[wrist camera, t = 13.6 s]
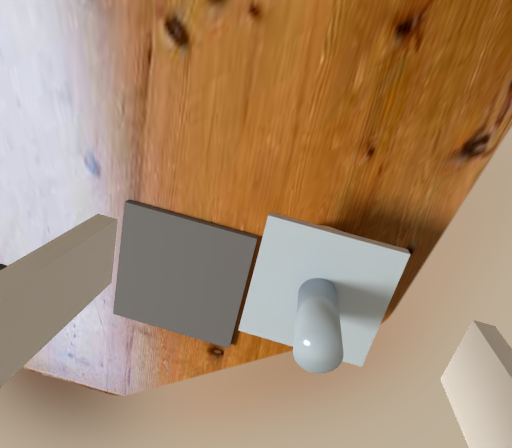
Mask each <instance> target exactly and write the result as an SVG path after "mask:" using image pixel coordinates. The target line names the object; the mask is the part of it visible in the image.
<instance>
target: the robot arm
mask: <svg viewBox="0 0 512 448" xmlns="http://www.w3.org/2000/svg"><path fill="white" fill-rule="evenodd" d="M116 229H117V219H114V218H111V217H107V216H104V215H100V214H97V215H95V216H93V217H92V218H90V219H88V220H87V221H85V222H83V223H81V224H80V225H78V226H76V227H74V228H73V229H71V230H69V231H68V232H66V233H64V234H62V235H61V236H59V237H57V238H55V239H54V240H52V241H50V242H48V243H47V244H45V245H43V246H42V247H40V248H38V249H36V250H35V251H33V252H31V253H29V254H28V255H26V256H24V257H23V258H21V259H19V260H17V261H16V262H14V263H12V264H10V265H9V266H6V265H3V264H0V388H1V386H3V385H4V384H5V383H6V382H7V381H8V380H9V379H10V378H11V377H12V376H13V375H14V374H15V373H16V372H17V371H18V370H20V369H21V368H22V367H23V366H24V365H25V364H26V363H27V362H28V361H29V360H30V359H31V358H32V357H33V356H34V355H35V354H36V353H37V352H38V351H40V350H41V349H42V348H43V347H44V346H45V345H46V344H47V343H48V342H49V341H50V340H51V339H52V338H53V337H54V336H55V335H56V334H57V333H59V332H60V331H61V330H62V329H63V328H64V327H65V326H66V325H67V324H68V323H69V322H70V321H71V320H72V319H73V318H74V317H75V316H76V315H78V314H79V313H80V312H81V311H82V310H83V309H84V308H85V307H86V306H87V305H88V304H89V303H90V302H91V301H92V300H93V299H94V298H95V297H96V296H98V295H99V294H100V293H101V292H102V291H103V290H104V289H105V288H106V287H107V286H108V285H109V284H110V283H111V280H112V270H113V260H114V250H115V239H116ZM440 380H441V382H442V384H443V387H444V389H445V391H446V394H447V397H448V399H449V401H450V404H451V406H452V408H453V411H454V413H455V416H456V418H457V420H458V423H459V425H460V427H461V430H462V432H463V435H464V437H465V439H466V442H467V444H468V447H469V448H512V349H511V347H510V346H509V345H508V343H507V342H506V340H505V339H504V338H503V336H502V335H501V334H500V332H499V331H498V330H497V328H496V327H495V326H492V325H489V324H485V323H482V322H478V321H474V320H473V321H472V323H471V325H470V326H469V328H468V330H467V332H466V334H465V335H464V337H463V339H462V341H461V343H460V344H459V347H458V348H457V350H456V352H455V354H454V356H453V357H452V359H451V361H450V363H449V364H448V366H447V368H446V370H445V372H444V374H443V376H442V377H441V379H440Z"/></svg>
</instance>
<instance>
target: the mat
mask: <svg viewBox="0 0 512 448" xmlns="http://www.w3.org/2000/svg"><path fill="white" fill-rule="evenodd" d="M257 239H258V236H256V235H253V234H249V233H245V232H242V231H238V230H235V229H231V228H228V227H224V226H220V225H217V224H213V223H210V222H206V221H202V220H199V219H195V218H192V217H188V216H185V215H181V214H177V213H174V212H170V211H167V210H163V209H160V208H156V207H152V206H149V205H145V204H142V203H138V202H134V201H131V200H127V201H126V202H125V206H124V216H123V225H122V235H121V245H120V254H119V264H118V273H117V283H116V293H115V302H114V312H113V314H116V315H120V316H123V317H126V318H130V319H133V320H136V321H140V322H143V323H146V324H150V325H153V326H156V327H160V328H163V329H166V330H170V331H173V332H176V333H180V334H183V335H186V336H190V337H193V338H196V339H200V340H203V341H206V342H210V343H213V344H216V345H220V346H223V347H226V348H229V347H230V344H231V340H232V337H233V333H234V329H235V325H236V321H237V317H238V313H239V309H240V305H241V302H242V298H243V294H244V290H245V286H246V282H247V278H248V274H249V270H250V267H251V263H252V259H253V255H254V251H255V247H256V243H257Z"/></svg>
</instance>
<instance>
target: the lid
mask: <svg viewBox="0 0 512 448" xmlns="http://www.w3.org/2000/svg"><path fill="white" fill-rule="evenodd" d="M410 255H411V254H410V253H409V251H408V249H405V248H401V247H397V246H394V245H390V244H386V243H383V242H379V241H375V240H372V239H368V238H364V237H361V236H357V235H353V234H350V233H346V232H342V231H339V230H335V229H331V228H328V227H324V226H321V225H317V224H313V223H310V222H306V221H302V220H299V219H295V218H291V217H288V216H284V215H280V214H277V213H273V212H269V215H268V218H267V222H266V226H265V230H264V234H263V237H262V241H261V245H260V249H259V253H258V256H257V260H256V264H255V268H254V272H253V276H252V279H251V283H250V287H249V291H248V295H247V298H246V302H245V306H244V310H243V314H242V317H241V321H240V325H239V329H238V330H239V331H242V332H245V333H249V334H252V335H255V336H259V337H262V338H266V339H269V340H272V341H276V342H279V343H283V344H286V345H289V346H293V355H294V358H295V360H296V362H297V363H298V365H300V366H301V367H302V368H303V369H305V370H307V371H309V372H312V373H327V372H330V371H333V370H334V369H336V368H337V367H338V366H339V365H340V364H341V362H342V361H344V362H347V363H351V364H354V365H358V366H361V367H362V365H363V363H364V360H365V358H366V356H367V353H368V351H369V349H370V347H371V344H372V342H373V340H374V337H375V335H376V333H377V330H378V328H379V326H380V324H381V321H382V319H383V317H384V314H385V312H386V310H387V307H388V305H389V303H390V301H391V298H392V296H393V294H394V291H395V289H396V287H397V284H398V282H399V280H400V278H401V275H402V273H403V271H404V268H405V266H406V264H407V261H408V259H409V257H410Z"/></svg>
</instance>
